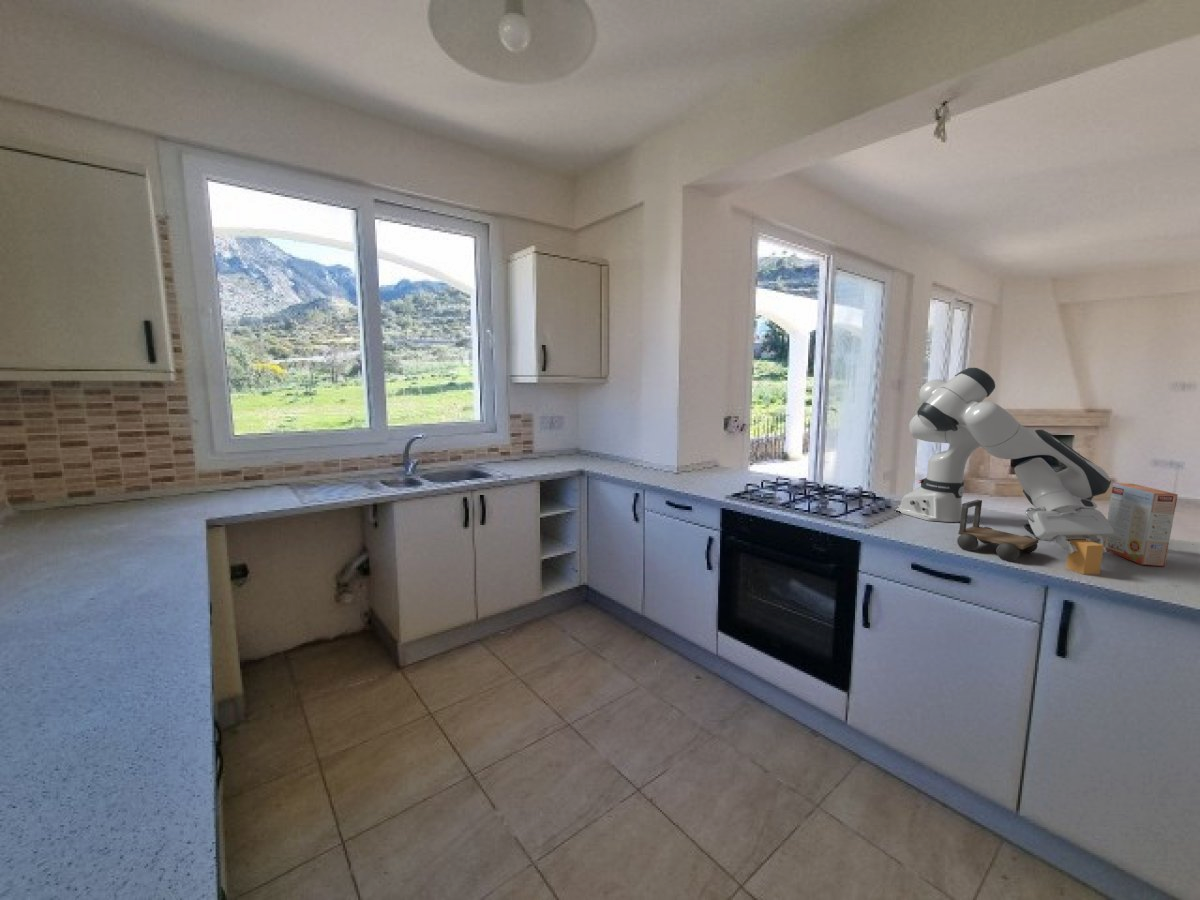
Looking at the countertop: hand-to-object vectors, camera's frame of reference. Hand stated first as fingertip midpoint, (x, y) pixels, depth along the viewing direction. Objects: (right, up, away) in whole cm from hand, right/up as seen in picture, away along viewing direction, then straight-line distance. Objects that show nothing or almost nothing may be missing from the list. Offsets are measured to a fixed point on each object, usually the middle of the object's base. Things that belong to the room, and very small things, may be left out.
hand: (1087, 552), depth 133 cm
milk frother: (+18, -1, +30) cm, 35 cm away
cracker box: (+24, -4, +11) cm, 27 cm away
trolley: (-12, -3, +16) cm, 20 cm away
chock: (0, -5, +1) cm, 5 cm away
